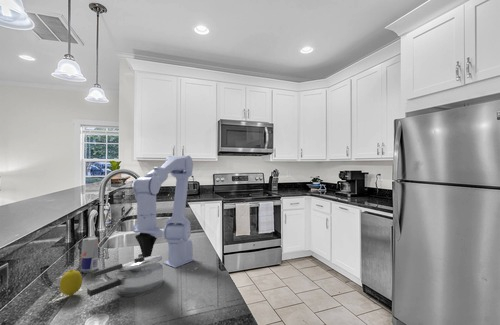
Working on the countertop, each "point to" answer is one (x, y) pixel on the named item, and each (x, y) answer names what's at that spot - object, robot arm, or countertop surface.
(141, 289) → the pot
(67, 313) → the countertop surface
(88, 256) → the energy drink
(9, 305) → the countertop surface
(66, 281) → the lemon
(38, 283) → the countertop surface
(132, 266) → the lid
